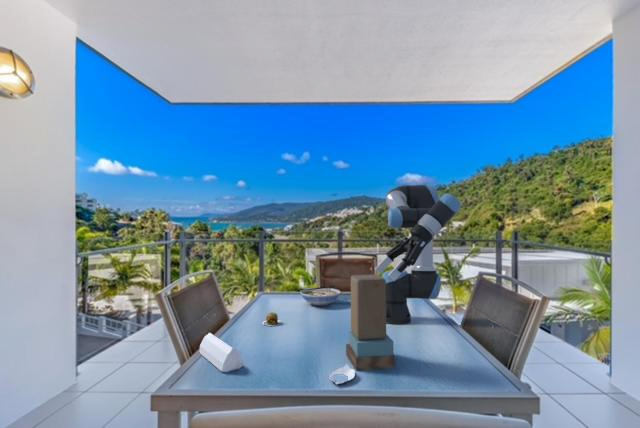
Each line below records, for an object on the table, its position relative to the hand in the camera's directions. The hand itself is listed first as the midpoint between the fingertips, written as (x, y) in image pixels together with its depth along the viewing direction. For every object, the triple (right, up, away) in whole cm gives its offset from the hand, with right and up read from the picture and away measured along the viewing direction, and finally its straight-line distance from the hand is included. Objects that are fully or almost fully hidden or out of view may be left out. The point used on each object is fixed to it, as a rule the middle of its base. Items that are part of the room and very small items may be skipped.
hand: (383, 274), depth 120 cm
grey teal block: (-5, -25, -1) cm, 26 cm away
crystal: (-56, -29, 0) cm, 63 cm away
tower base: (-5, -30, -1) cm, 30 cm away
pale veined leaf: (-15, -29, -14) cm, 36 cm away
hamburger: (-44, -30, +42) cm, 68 cm away
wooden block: (-5, -21, 0) cm, 21 cm away
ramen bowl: (-22, -30, +77) cm, 86 cm away
